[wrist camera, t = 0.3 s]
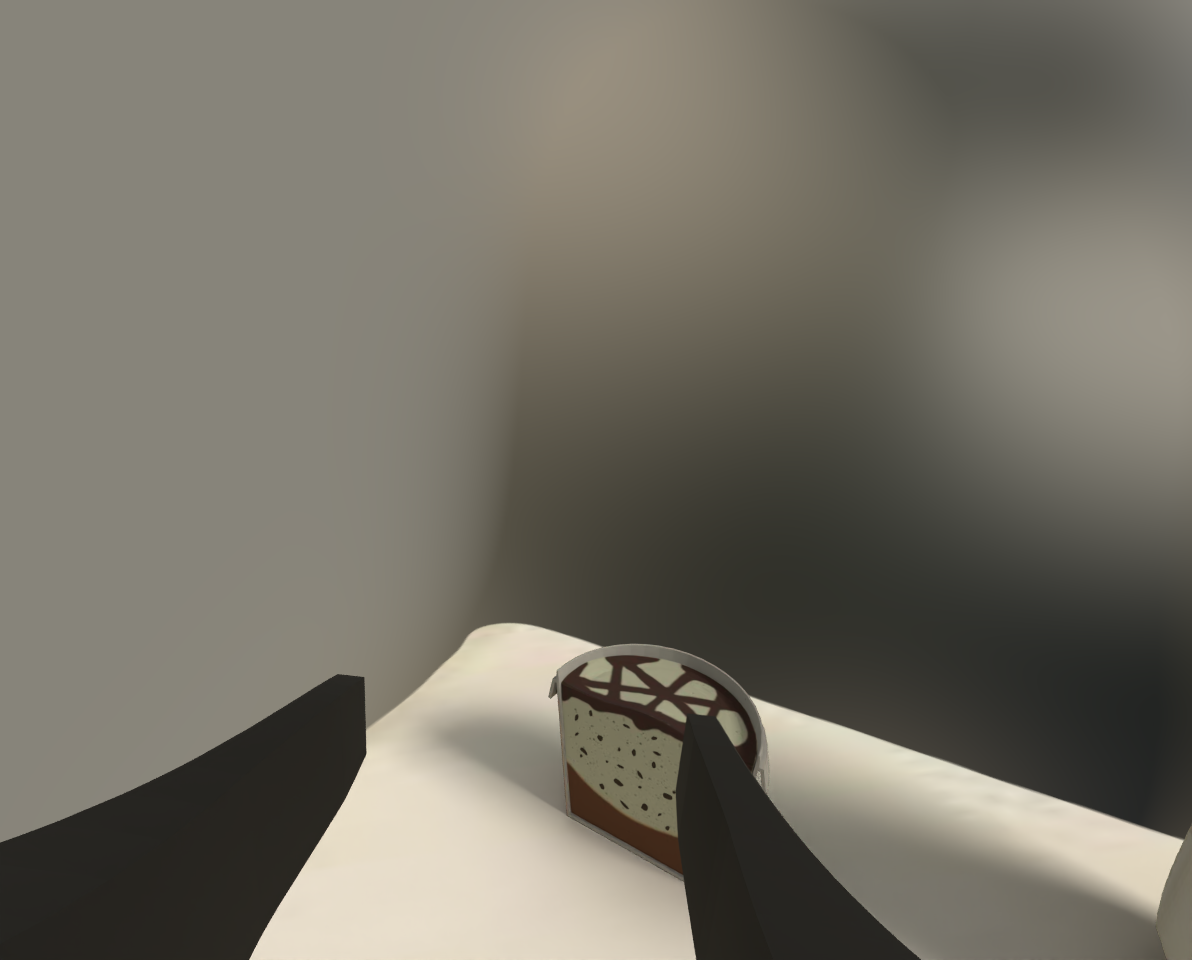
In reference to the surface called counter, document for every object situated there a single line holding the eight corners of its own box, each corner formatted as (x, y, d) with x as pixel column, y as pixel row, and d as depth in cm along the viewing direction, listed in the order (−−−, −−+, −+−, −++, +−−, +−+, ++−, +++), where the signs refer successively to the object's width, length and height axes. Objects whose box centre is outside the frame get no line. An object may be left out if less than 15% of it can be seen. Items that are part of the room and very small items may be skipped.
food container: (772, 823, 33) (798, 685, 30) (744, 916, 28) (772, 761, 25) (596, 739, 39) (602, 616, 36) (546, 804, 34) (548, 667, 31)
